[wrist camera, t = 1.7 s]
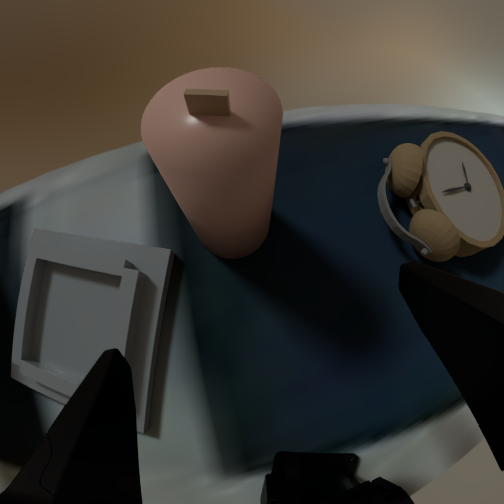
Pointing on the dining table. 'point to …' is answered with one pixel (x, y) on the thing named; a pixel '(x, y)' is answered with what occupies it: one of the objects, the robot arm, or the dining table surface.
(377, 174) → the dining table surface
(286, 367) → the dining table surface
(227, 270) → the dining table surface
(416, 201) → the alarm clock
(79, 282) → the dish
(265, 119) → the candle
